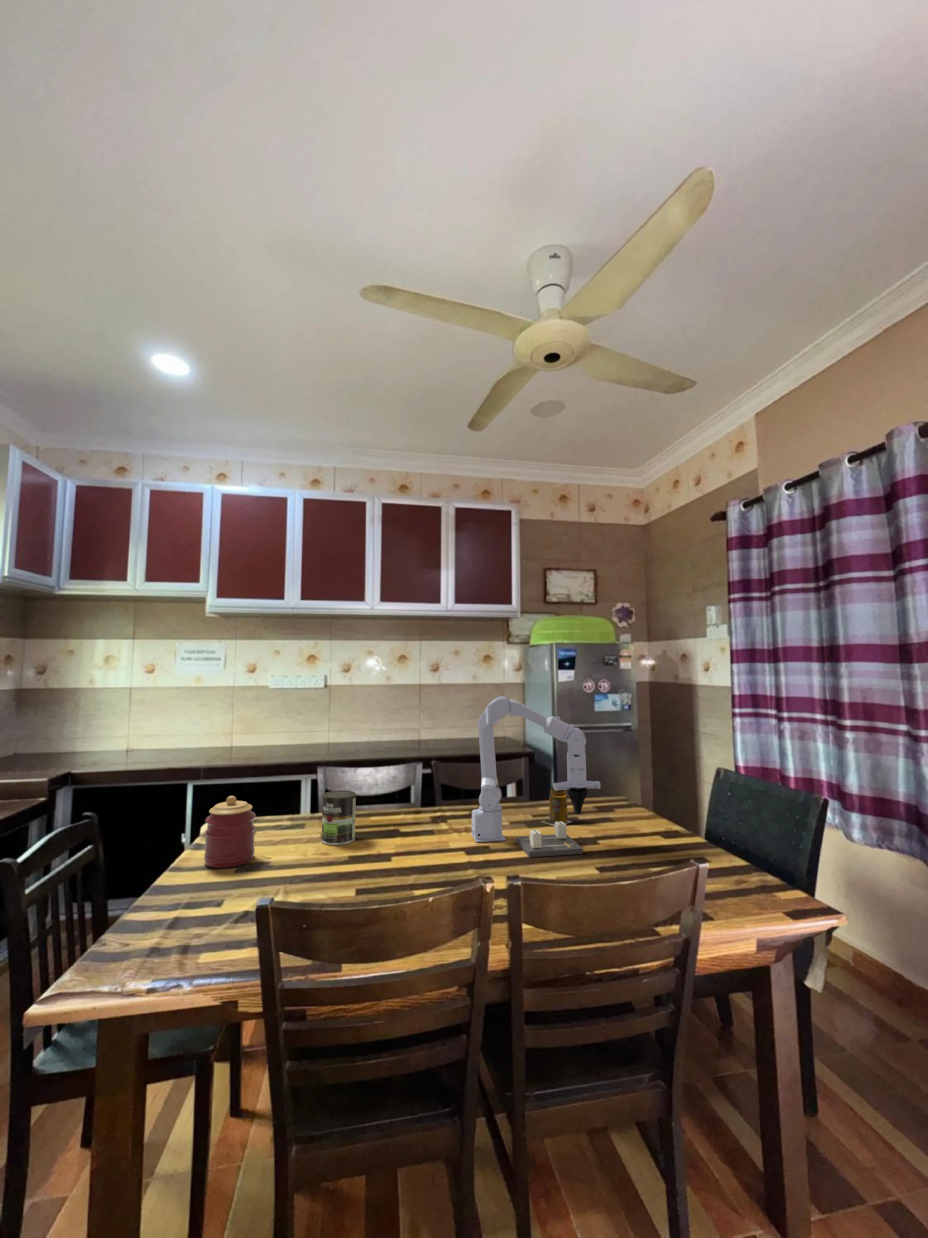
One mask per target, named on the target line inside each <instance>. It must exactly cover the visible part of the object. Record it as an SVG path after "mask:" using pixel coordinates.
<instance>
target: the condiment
mask: <svg viewBox="0 0 928 1238" xmlns="http://www.w3.org/2000/svg"><path fill="white" fill-rule="evenodd" d="M549 792H550V793H549V795H548V796H549V802H548V803H549V806H548V807H549V818H548V819H545V820H542V821H540V822H541V823H543V824H546V825H550V826H554V827H555V822H558V821H559V822H563V823H565V824H566V825H567V824H569V823H572V822H573V821H572V820H568V797H567V794H566V793H567V790H559V791H555V790H554V787H553V785H551V786H550V791H549Z"/></svg>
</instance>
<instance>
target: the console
mask: <svg viewBox="0 0 928 1238" xmlns="http://www.w3.org/2000/svg"><path fill="white" fill-rule="evenodd" d="M515 841H516V843H517V844H518V845H519V846H520V848H521V849H522V851H524V853H525V854H526V856H528V858H538V857H539V858H540V857H553V856H567V855H568V856H569V855H570V856H572V855H583V854H584V847H582V846H581V845H580V844H579V843H577V842H576V841H575V840H574V839H573V838H572V837H571V836H569V835H568V834H567V833H566V838H564V839H559V838H557V837H556V836H555V833H554V834H541V846H542V848H533V847H532V846H531V845H530V835H522V836H516V839H515Z"/></svg>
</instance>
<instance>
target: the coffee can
mask: <svg viewBox="0 0 928 1238" xmlns="http://www.w3.org/2000/svg"><path fill="white" fill-rule="evenodd" d="M321 796H322V810H321V811H322V813H321V815H322V816H321V817H322V820H321V821H322V822H321V823H322V824H321V843H322V844H324V845H327V846H342V845H343V846H344V845H348V844H350V843H354V842H355V840H356V802H357V801H356V799H357V798H356V796H357V792H355V791H351V790H332V791H331V790H330V791H328V792H327V791H326V792H324V793H322V795H321Z"/></svg>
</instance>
